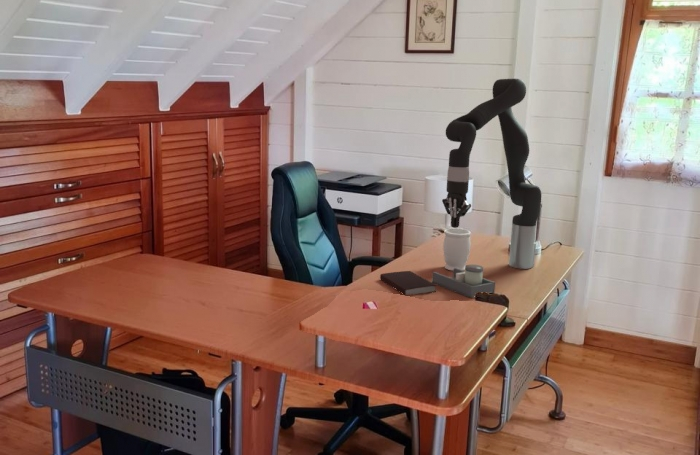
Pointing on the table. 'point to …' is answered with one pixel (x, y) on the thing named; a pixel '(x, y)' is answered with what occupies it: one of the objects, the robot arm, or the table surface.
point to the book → (408, 282)
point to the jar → (456, 248)
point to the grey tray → (462, 284)
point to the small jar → (473, 275)
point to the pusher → (460, 277)
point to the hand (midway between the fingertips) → (454, 227)
